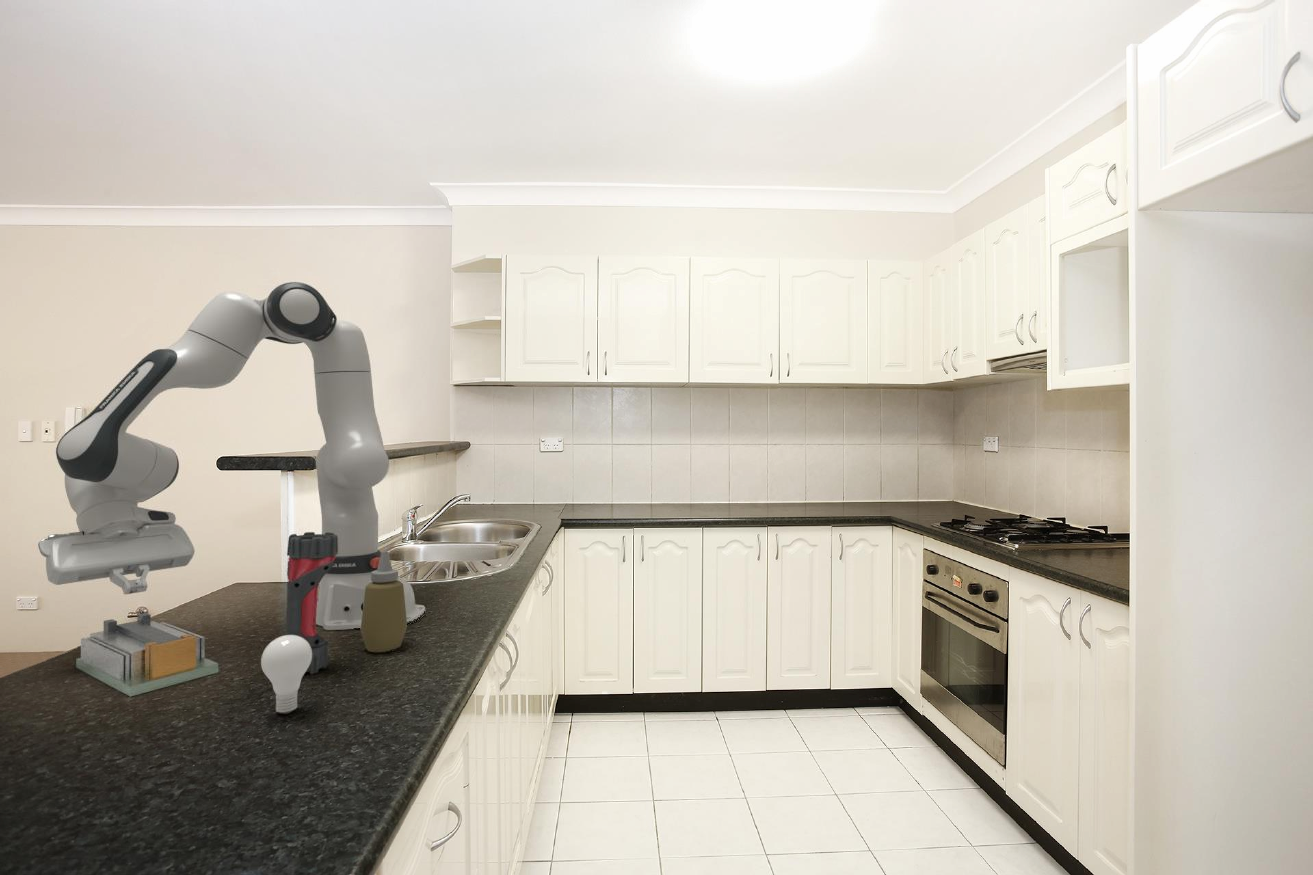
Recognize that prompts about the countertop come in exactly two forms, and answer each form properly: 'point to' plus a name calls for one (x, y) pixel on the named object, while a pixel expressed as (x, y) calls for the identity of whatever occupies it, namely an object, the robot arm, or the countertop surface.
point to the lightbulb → (286, 668)
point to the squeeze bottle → (384, 609)
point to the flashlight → (308, 588)
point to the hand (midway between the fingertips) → (136, 590)
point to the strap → (145, 632)
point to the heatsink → (144, 658)
